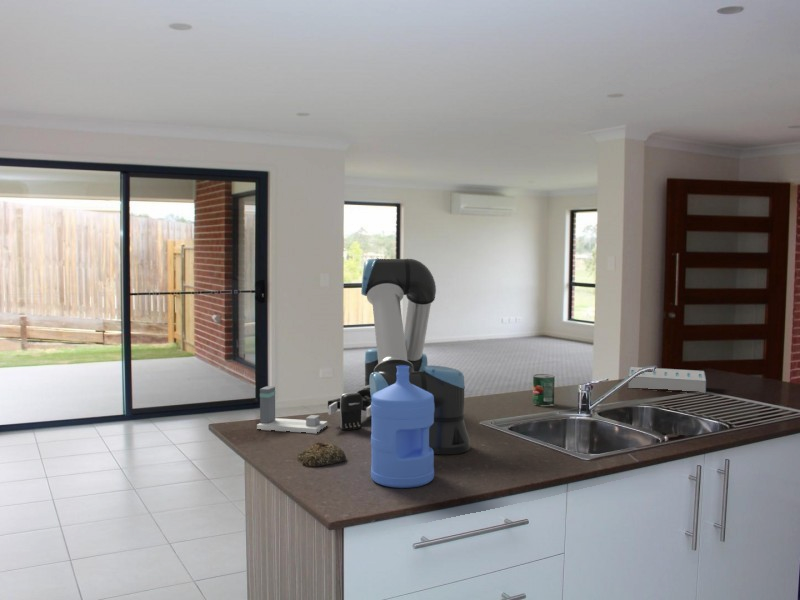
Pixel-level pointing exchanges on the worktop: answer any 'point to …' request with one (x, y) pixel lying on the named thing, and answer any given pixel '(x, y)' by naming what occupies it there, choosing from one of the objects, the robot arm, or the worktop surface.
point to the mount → (278, 424)
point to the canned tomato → (543, 389)
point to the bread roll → (321, 455)
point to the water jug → (402, 434)
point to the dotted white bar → (669, 379)
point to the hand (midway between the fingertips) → (348, 411)
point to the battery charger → (351, 411)
